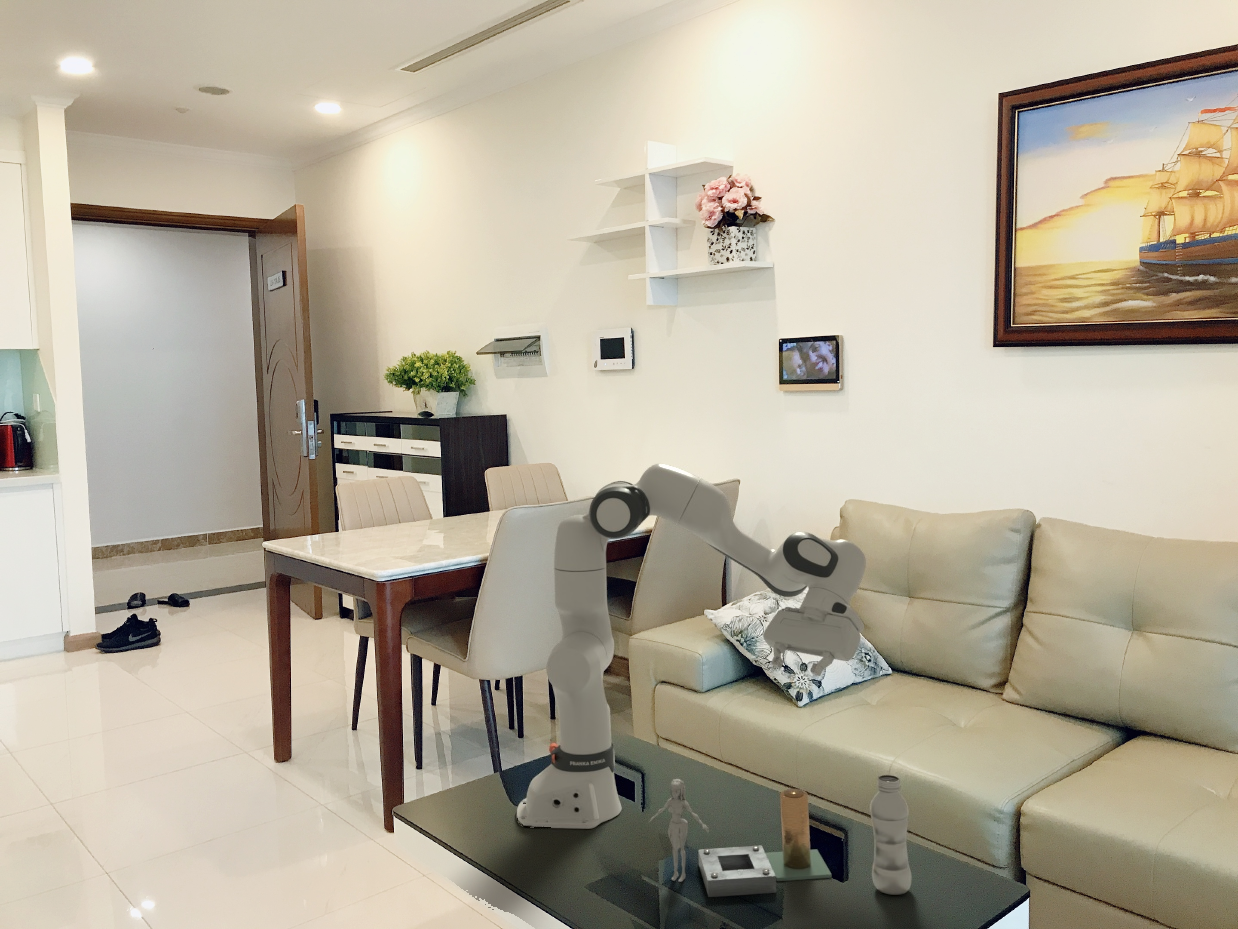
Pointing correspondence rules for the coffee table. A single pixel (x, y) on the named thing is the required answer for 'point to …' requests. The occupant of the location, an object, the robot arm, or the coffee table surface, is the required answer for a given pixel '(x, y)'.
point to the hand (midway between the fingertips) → (794, 670)
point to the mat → (811, 872)
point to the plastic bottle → (890, 837)
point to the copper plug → (795, 828)
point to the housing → (736, 871)
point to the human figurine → (678, 823)
